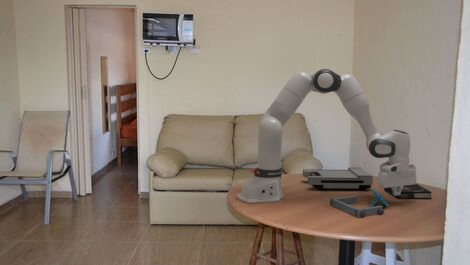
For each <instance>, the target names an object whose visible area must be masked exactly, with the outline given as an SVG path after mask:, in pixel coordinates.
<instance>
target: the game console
mask: <svg viewBox="0 0 470 265" xmlns="http://www.w3.org/2000/svg"><path fill="white" fill-rule="evenodd" d="M302 176H303V178H306V179H307V183H308V185H310V186H312V187H313V189H317V191H320V192H322V191H323V192H330V191H331V192H338V191H339V192H368V189H372V186H373V180H374V177H373V175H372V174H370V173H369V172H367V171H366V170H365V169H363V168H362V167H348V168H347V169H302Z"/></svg>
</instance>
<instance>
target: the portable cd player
mask: <svg viewBox="0 0 470 265" xmlns="http://www.w3.org/2000/svg"><path fill="white" fill-rule="evenodd" d="M397 189H398V187H397ZM397 189H396V191H397ZM383 191H384V192H386V193H388V194H389V195H390V196H392V197H393V198H395V199H396V200H432V198H433V197H432V191H430V190H429V189H427V188H425V187H423V186H421V185H419V184H418V183H417V182H416V183H415V184H414V185H405V186H403V189H402V191H401V194H400V195H398V196H394V195H393V191H392V189H391V187H388V188H383Z"/></svg>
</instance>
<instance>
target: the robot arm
mask: <svg viewBox="0 0 470 265" xmlns="http://www.w3.org/2000/svg"><path fill="white" fill-rule="evenodd" d="M311 92H315V93H319V94H322V95H323V94H324V95H325V94H328V93H331V92H332V93H335V94H336V96H338V98H339V101H340V103H341V104H342V106H343V108H344V109H345V111H346V112H347V113H348V115H350V116H351V118H354V119H355V120H356V122H357V123H358V124H359V126H360V128H361V130H362V133H364V135H365V139H366V147H367V150H368V152H369V153H370V155H371V156H372V157H374V158H377V159H384V158H388V160H387V161H385V162H383V163H381V164H379V166H378V169H379V171H378V175H377V176H378V177H377V178H378V179H377V185H378V187H380V188H383V189H384V188H388V187H391V189H392V191H393V195H394V196H398V195H400V194H401V191H402V189H403V186H405V185H414V184H415V183H416V184H417V171H416V166H415V165H414V164H410V152H411V136H410V134H409V133H408V132H406V131H404V130H400V129H392V130H391V131H390V132H388V133H386V134H382V133H381V132H380V131H379V129H378V127H377V126H376V124H375V122H374V120H373V119H372V115H371V113H370V103H369V100H368V96H367V95H366V93H365V91H364V89H363V87H362V86H361V83H359V81H358V80H357V78H356V77H355V76H354V75H353V74H351V73H344V74H342V75H339V74H338V73H337V72H334V71H333V70H331V69H328V68H322V69H320V70H318V71H316V72H315V73H313V74H309V73H307V72H306V71H301V70H299V71H297V72H295V74H293V75H292V76H291V77H290V79H289V80H288V81H287V82H286V84H284V86H283V87H282V89H281V90H280V92H279V93H278V95H277V96H276V98H275V99H274V100H273V102H272V103H271V105H270V106H269V107H268V108H267V110H266V111H265V112H264V114H263V115H262V117H261V118H260V119H259V122H258V124H257V125H258V126H257V128H258V130H257V131H258V134H257V135H258V136H257V167H256V168H253V167H251V168H250V169H249V171H250V172H251V173H253V176H251V177H250V178H249V179H248V180H247V181H245V182H244V183H243V184H242V187H241V192H239V193H237V194H236V198H237V199H238V200H239V201H241V202H242V203H243V202H245V203H248V204H254V203H255V204H256V203H257V204H258V203H271V202H272V203H275V202H280V201H281V199H284V193H283V190H282V170H283V169H282V166H281V163H282V144H283V128H284V127H285V125H287V124H286V123H287V122H289V121H290V119H291V117H293V115H295V113H296V112H297V110H298V109H299V107H300V106H301V104H302V103H303V101H304V100H305V98H306V97H307V96H308V94H309V93H311ZM397 187H398V189H397ZM396 189H397V191H396Z"/></svg>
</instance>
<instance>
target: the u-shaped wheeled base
mask: <svg viewBox="0 0 470 265" xmlns="http://www.w3.org/2000/svg"><path fill="white" fill-rule="evenodd" d="M351 204H358V195H357V196H356V195H351V196H343V197H342V196H341V197H335V198H334V197H332V198H331V197H330V198H329V205H330V206H331V207H333V208H336V209H338V210H340V211H342V212H345V213H347V214H349V215H351V216H354V217H355V218H358V219H359V218H362V219H363V218H365V217H367V216H373V215H375V216H376V215H380V216H381V215H384V213H385V209H384V206H383V205H376V206H375V205H373V206H369V207H360V208H357V207H355V206H352V205H351Z"/></svg>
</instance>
